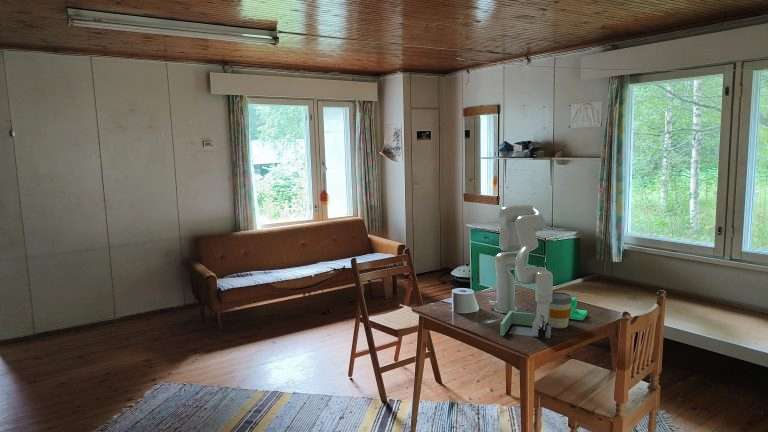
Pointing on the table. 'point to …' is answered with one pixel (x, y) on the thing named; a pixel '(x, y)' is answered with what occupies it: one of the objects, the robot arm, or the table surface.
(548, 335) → the bracket
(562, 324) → the reusable coffee cup
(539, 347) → the table surface
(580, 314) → the camera mount
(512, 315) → the corner walls
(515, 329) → the mat
